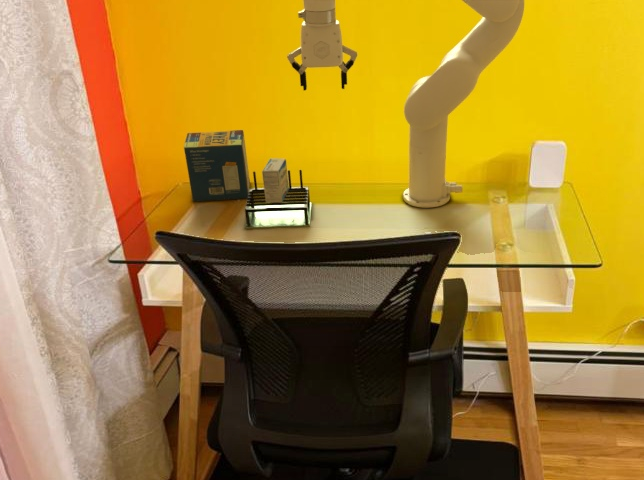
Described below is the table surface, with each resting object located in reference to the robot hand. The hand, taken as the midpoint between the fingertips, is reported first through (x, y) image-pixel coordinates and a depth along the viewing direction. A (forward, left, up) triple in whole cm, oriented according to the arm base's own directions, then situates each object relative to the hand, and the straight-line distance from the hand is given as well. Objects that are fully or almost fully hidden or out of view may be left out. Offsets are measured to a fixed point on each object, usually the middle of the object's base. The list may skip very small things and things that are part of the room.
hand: (324, 88), depth 199 cm
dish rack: (+13, +14, -28) cm, 34 cm away
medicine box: (+13, +14, -23) cm, 30 cm away
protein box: (+30, -2, -28) cm, 41 cm away
